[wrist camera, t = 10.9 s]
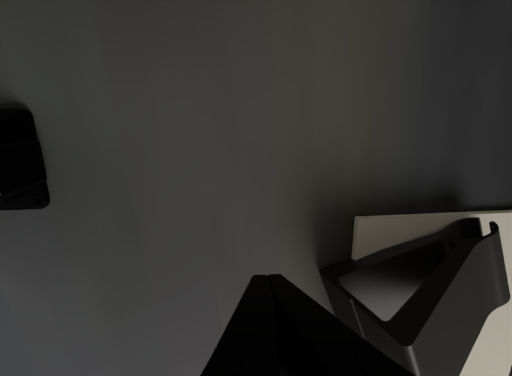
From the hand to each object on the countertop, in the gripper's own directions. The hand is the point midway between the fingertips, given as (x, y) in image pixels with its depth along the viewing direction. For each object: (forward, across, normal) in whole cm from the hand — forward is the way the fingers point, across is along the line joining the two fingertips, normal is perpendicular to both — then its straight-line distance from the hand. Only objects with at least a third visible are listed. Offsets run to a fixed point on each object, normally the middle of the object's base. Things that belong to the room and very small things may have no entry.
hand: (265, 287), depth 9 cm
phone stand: (+8, -8, +9) cm, 15 cm away
